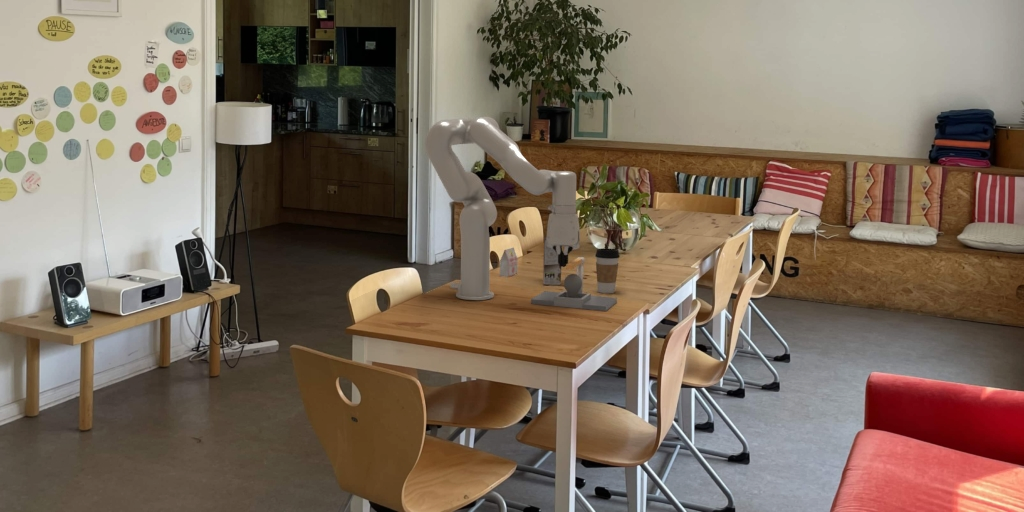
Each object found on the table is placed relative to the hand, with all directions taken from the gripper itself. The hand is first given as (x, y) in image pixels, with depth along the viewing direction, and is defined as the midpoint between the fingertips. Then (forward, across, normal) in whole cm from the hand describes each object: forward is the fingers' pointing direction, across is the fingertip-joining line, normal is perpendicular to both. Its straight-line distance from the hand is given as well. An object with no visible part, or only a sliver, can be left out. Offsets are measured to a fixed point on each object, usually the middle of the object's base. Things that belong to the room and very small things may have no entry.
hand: (562, 266), depth 307 cm
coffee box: (+12, -14, +31) cm, 36 cm away
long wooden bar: (0, +4, +2) cm, 4 cm away
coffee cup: (+13, +8, +24) cm, 28 cm away
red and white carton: (+12, -32, +37) cm, 51 cm away
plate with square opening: (+12, +3, +2) cm, 13 cm away
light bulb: (+13, +3, 0) cm, 13 cm away
